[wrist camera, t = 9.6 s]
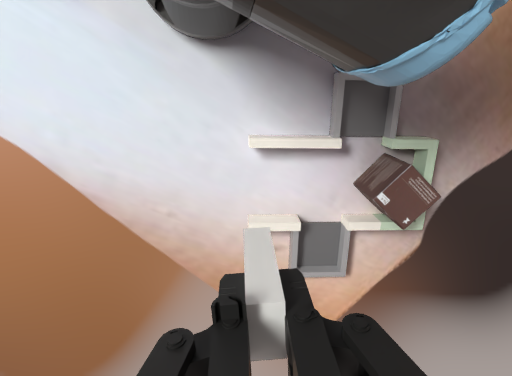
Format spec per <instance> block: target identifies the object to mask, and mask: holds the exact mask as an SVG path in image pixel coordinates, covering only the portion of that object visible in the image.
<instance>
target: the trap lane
mask: <svg viewBox="0 0 512 376" xmlns="http://www.w3.org/2000/svg"><path fill="white" fill-rule="evenodd" d="M402 91H403V85H399V86H390V87H387V86H380V85H379V86H378V85H375V84H372V83H370V82H368V81H366V80H364V79H362V78H359V77H357V76H355V75H349V74H347V73H342V72H339V73H334V83H333V95H332V107H331V119H330V131H329V136H313V135H249V143H248V144H249V148H332V149H341V146H342V139H341V138H340V136H383V137H382V144H381V145H383V146H385V147H388V148H391V149H415V153H414V159H413V166H414V167H415V169H416V170H417V171H418V172H419V173H420V174H421V175H422V176H423V177H424V178H425V179H426V180H427V181H428V183H429V184H430V185H431V182H432V176H433V171H434V166H435V160H436V155H437V150H438V144H439V140H438V139H434V138H430V137H417V136H396V132H397V125H398V118H399V111H400V104H401V97H402ZM425 214H426V211H425V212H424V213H422V214H421V215H420V216H419V217H418V218H417V219H416V220H415V221H414V222H412V223H411V224H410V225H409V226H408V227H407V228H406V229H404V230H423V225H424V219H425ZM263 227H270V231H290V248H289V267H288V269H293V268H297V269H298V270H299V271H300V272H301V273H302V274H303V276H304V277H345V276H346V267H347V259H348V250H349V241H350V232H351V231H355V230H403V229H401V228H400V227H399V226H398V225H396V224H395V223H394V222H393V221H392V220H390V219H389V218H388V217H387V216H386V215H385V214H342V216H341V222H300V220H299V218H298V216H297V214H279V215H248V228H263Z"/></svg>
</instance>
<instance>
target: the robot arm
mask: <svg viewBox="0 0 512 376" xmlns="http://www.w3.org/2000/svg"><path fill="white" fill-rule="evenodd" d="M147 2H148V3H149V5H150V6H151V7H152V9H153V10H154V11H155V12H156V13H157V14H158V15H159V16H160V17H161V18H162V19H163V20H164V21H165V22H166V23H167V24H168V25H170V26H171V27H172V28H174V29H175V30H177V31H179V32H181V33H183V34H185V35H188V36H191V37H194V38H198V39H220V38H224V37H228V36H230V35H233V34H235V33H237V32H239V31H240V30H242V29H243V28H245V27H246V26H247V25H248V24H249V23H250V22H251V21H253V22H255V23H257V24H259V25H261V26H263V27H265V28H266V29H268V30H270V31H272V32H274V33H276V34H278V35H280V36H281V37H283V38H285V39H287V40H289V41H291V42H293V43H295V44H296V45H298V46H300V47H302V48H304V49H306V50H308V51H310V52H311V53H313V54H315V55H317V56H319V57H321V58H323V59H325V60H327V61H328V62H330V63H332V65H333V66H334V67H335V68H336V69H337V70H339V71H340V72H342V73H347V74H349V75H355V76H357V77H359V78H362V79H364V80H366V81H368V82H370V83H372V84H375V85H378V86H379V85H380V86H387V87H390V86H399V85H403V84H407V83H410V82H413V81H416V80H418V79H420V78H422V77H424V76H426V75H428V74H430V73H431V72H433V71H435V70H437V69H438V68H440V67H441V66H443V65H444V64H446V63H447V62H448V61H450V60H451V59H453V58H454V57H455V56H456V55H458V54H459V53H460V52H461V51H463V50H464V49H465V48H466V47H467V46H468V45H469V44H470V43H472V42H473V41H474V40H475V39H476V38H477V37H478V36H479V35H480V34H481V33H482V32H483V31H484V30H485V28H486V27H487V26H488V25H489V24H490V23H491V22H492V16H491V13H493V12H494V11H495V10H496V9H498V8H499V7H501V6H503V5H505V4H506V3H507V2H508V0H147ZM243 232H244V269H245V273H236V274H225V275H224V276H223V278H222V279H221V280H220V286H219V296H218V298H216V299H215V300H214V301H213V303H212V305H211V310H212V318H213V325H212V326H211V327H209V328H208V329H206V330H204V331H202V332H200V333H197V334H194V335H193V334H192V332H191V331H189V330H188V329H184V328H177V329H173V330H170V331H168V332H167V333H165V334H163V336H162V337H161V338H160V339H159V340H158V342H157V344H156V345H155V347H154V348H153V350H152V352H151V353H150V355H149V357H148V358H147V360H146V361H145V363H144V365H143V366H142V368H141V369H140V371H139V373H138V374H137V376H251V362H250V361H261V360H273V359H285V358H287V357H288V376H427V375H426V374H425V373H424V372H423V371H422V370H421V369H420V368H419V367H418V366H417V365H416V364H415V363H414V362H413V361H412V360H411V358H410V357H409V356H408V355H407V354H406V353H405V352H404V351H403V350H402V349H401V348H400V347H399V346H398V344H397V343H396V342H395V341H394V340H393V339H392V338H391V337H390V336H389V335H388V334H387V333H386V332H385V331H384V329H382V328H381V326H380V325H379V324H378V323H377V322H376V321H375V320H374V319H372V318H371V317H369V316H367V315H364V314H359V313H353V314H349V315H347V316H345V317H344V319H343V320H342V322H339V321H333V320H329V319H326V318H324V317H322V316H321V315H320V314H319V312H318V311H317V310H316V309H314V306H313V303H312V300H311V297H310V294H309V291H308V288H307V285H306V282H305V279H304V276H303V274H302V273H301V272H300V271H299V270H298V269H297V268H293V269H280V270H278V265H277V260H276V256H275V251H274V246H273V241H272V237H271V232H270V227H263V228H248V229H243Z"/></svg>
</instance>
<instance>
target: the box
mask: <svg viewBox="0 0 512 376" xmlns="http://www.w3.org/2000/svg"><path fill="white" fill-rule="evenodd" d="M353 184H354V186H355V187H356V188H357V189H358V190H359V191H360V192H361V193H362V194H363V195H364V196H365V197H366V198H367V199H368V200H369V201H370V202H371V203H372V204H373V205H374V206H375V207H377V208H378V209H379V210H380V211H381V212H382V213H383V214H385V215H386V216H387V217H388V218H389V219H390V220H392V221H393V222H394V223H395V224H396V225H398V226H399V227H400V228H401V229H403V230H404V229H406V228H407V227H408V226H409V225H410V224H411V223H412V222H414V221H415V220H416V219H417V218H418V217H419V216H420V215H421V214H422V213H424V212H425V211H426V210H427V209H428V208H429V207H430V206H432V205H433V204H434V203H435V202H436V201H437V200H438V199H439V198H441V196H440V195H439V194H438V193H437V191H436V190H435V189H434V188H433V187H432V186H431V185H430V184H429V183H428V181H427V180H426V179H425V178H424V177H423V176H422V175H421V174H420V173H419V172H418V171H417V170H416V169H415V167H414V166H413V165H410V164H408V163H406V162H404V161H401V160H399V159H397V158H395V157H393V156H390V155H388V154H386V153H384V154H383V155H382V156H381V157H380V158H379V159H378V160H376V162H375V163H374V164H372V166H370V167H369V168H368V169H367V170H366V171H365V172H364V173H363V174H362V175H361V176H360V177H359V178H358V179H357V180H356V181H355V182H354V183H353Z"/></svg>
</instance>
